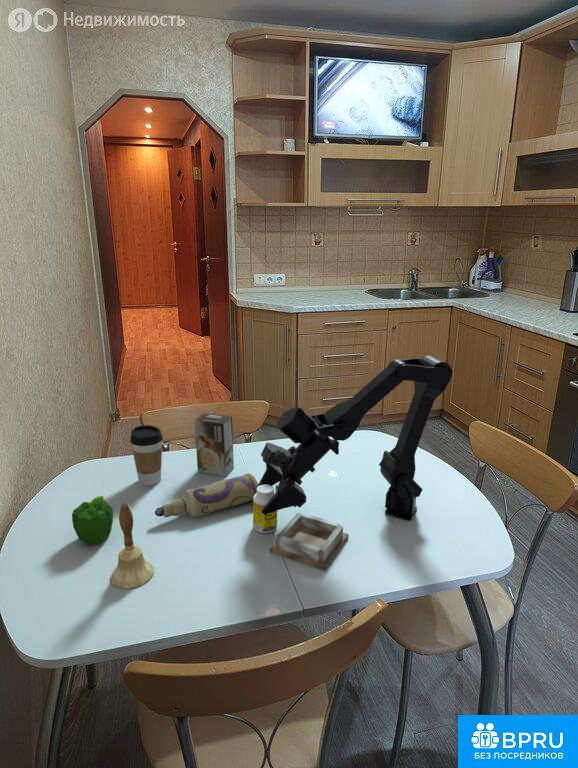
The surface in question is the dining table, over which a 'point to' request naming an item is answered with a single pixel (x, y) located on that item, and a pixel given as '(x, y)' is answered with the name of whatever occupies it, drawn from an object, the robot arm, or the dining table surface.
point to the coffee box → (214, 444)
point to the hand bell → (130, 557)
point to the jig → (310, 540)
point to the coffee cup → (147, 453)
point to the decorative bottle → (212, 497)
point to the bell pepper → (93, 521)
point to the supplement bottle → (260, 499)
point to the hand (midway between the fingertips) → (259, 502)
